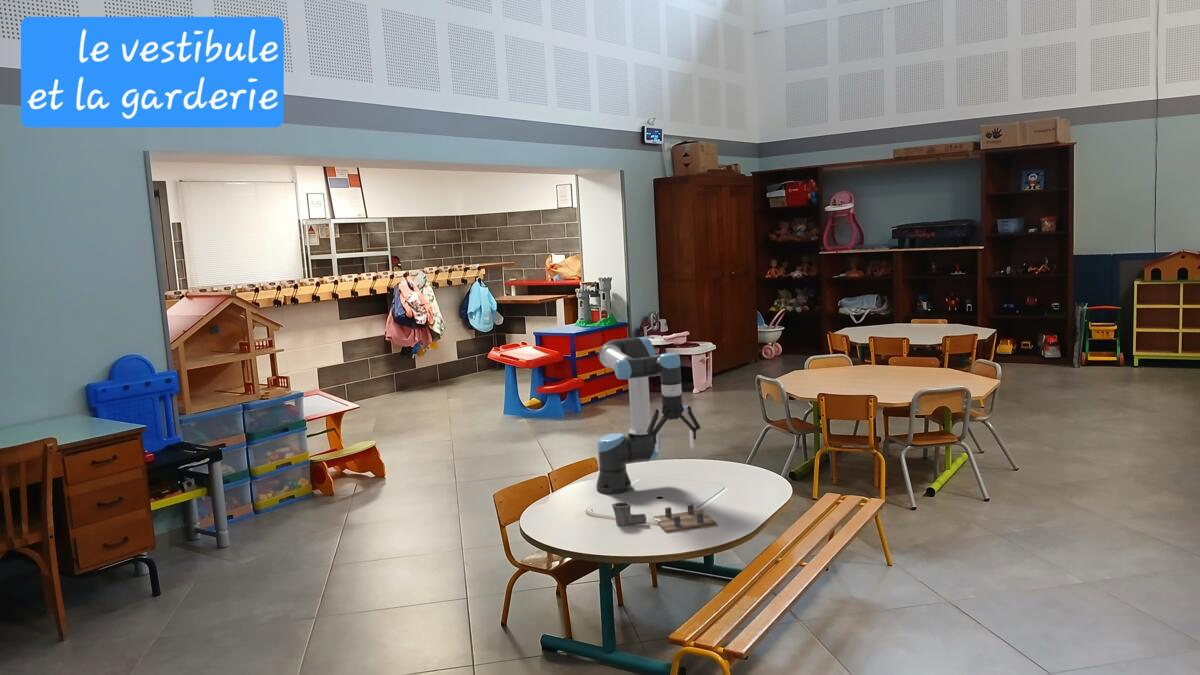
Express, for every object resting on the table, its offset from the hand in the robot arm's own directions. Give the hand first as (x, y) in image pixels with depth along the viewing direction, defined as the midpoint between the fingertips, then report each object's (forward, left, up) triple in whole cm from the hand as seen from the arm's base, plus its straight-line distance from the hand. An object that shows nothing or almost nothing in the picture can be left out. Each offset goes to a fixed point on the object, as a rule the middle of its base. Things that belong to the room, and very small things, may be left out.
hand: (674, 450), depth 324 cm
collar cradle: (+3, +1, -27) cm, 28 cm away
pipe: (-3, -19, -28) cm, 33 cm away
